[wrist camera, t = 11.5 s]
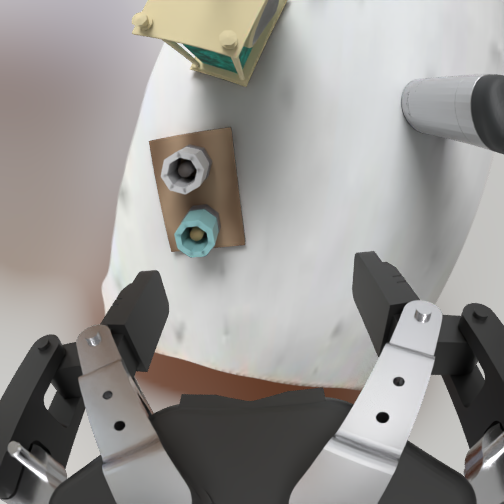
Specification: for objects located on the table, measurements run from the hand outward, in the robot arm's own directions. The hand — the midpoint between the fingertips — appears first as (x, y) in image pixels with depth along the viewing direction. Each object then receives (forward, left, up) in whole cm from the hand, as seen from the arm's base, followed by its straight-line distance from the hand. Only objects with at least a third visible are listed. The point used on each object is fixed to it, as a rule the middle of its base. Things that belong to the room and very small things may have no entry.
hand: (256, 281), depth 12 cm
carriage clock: (0, -20, -33) cm, 39 cm away
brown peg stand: (+9, +4, -33) cm, 34 cm away
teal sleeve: (+9, +8, -31) cm, 34 cm away
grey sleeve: (+9, -1, -31) cm, 33 cm away
